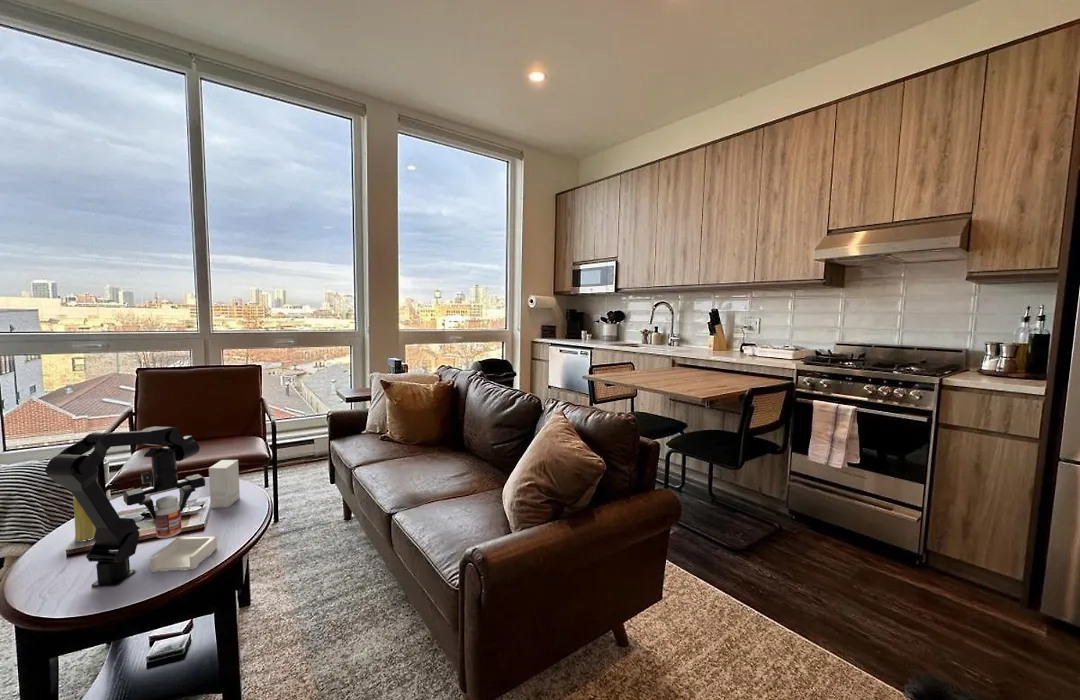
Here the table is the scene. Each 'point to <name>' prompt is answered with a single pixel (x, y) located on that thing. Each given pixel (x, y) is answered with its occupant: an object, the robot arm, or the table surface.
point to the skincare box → (224, 483)
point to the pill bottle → (167, 517)
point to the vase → (82, 523)
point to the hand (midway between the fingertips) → (167, 515)
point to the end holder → (183, 553)
